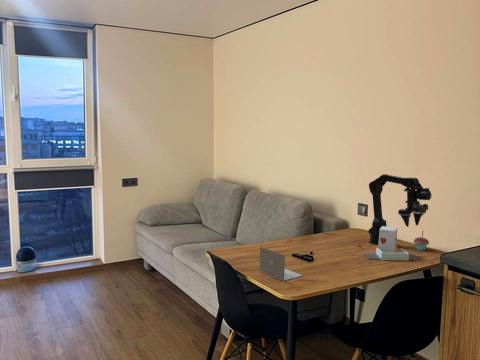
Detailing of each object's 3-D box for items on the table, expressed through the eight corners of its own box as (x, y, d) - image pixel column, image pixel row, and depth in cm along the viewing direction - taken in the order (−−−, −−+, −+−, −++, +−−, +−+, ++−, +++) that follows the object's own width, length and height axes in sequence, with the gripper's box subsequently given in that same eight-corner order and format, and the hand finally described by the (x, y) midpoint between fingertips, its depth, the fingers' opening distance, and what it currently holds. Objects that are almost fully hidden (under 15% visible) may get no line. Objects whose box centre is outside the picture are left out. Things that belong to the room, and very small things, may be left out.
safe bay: (363, 254, 250) (364, 247, 250) (414, 255, 250) (414, 248, 249) (368, 259, 240) (369, 252, 240) (421, 260, 240) (421, 253, 239)
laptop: (302, 276, 212) (303, 250, 211) (283, 282, 204) (284, 255, 203) (277, 267, 226) (278, 242, 225) (259, 271, 219) (259, 246, 217)
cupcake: (415, 246, 269) (416, 227, 268) (429, 248, 265) (431, 229, 263) (411, 249, 262) (413, 230, 261) (426, 252, 257) (428, 232, 256)
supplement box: (377, 254, 252) (378, 228, 250) (380, 250, 260) (381, 225, 258) (394, 256, 247) (395, 230, 246) (396, 252, 255) (397, 227, 254)
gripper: (414, 200, 242) (414, 228, 242) (434, 199, 252) (434, 226, 253) (397, 199, 251) (397, 226, 251) (417, 198, 261) (417, 224, 262)
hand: (412, 225), depth 254 cm, fingers open, 9 cm apart
